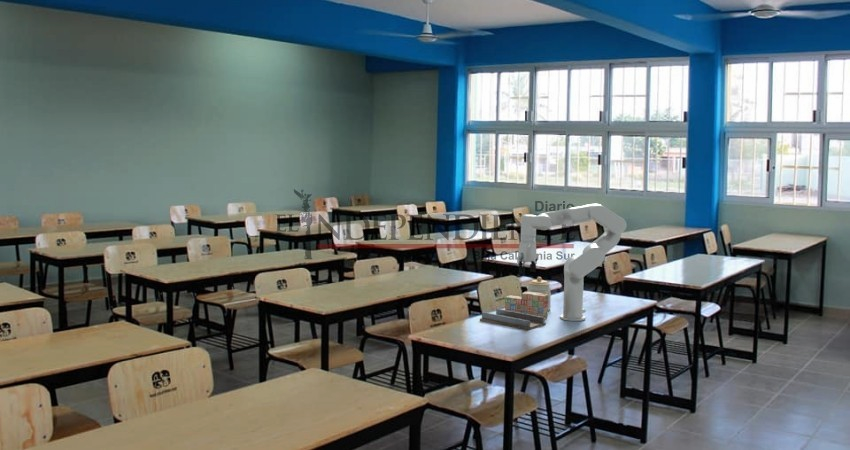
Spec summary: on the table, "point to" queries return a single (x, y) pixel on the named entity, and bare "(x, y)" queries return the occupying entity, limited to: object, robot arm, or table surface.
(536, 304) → the stack of blocks
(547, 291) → the jar
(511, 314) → the track
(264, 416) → the table surface
